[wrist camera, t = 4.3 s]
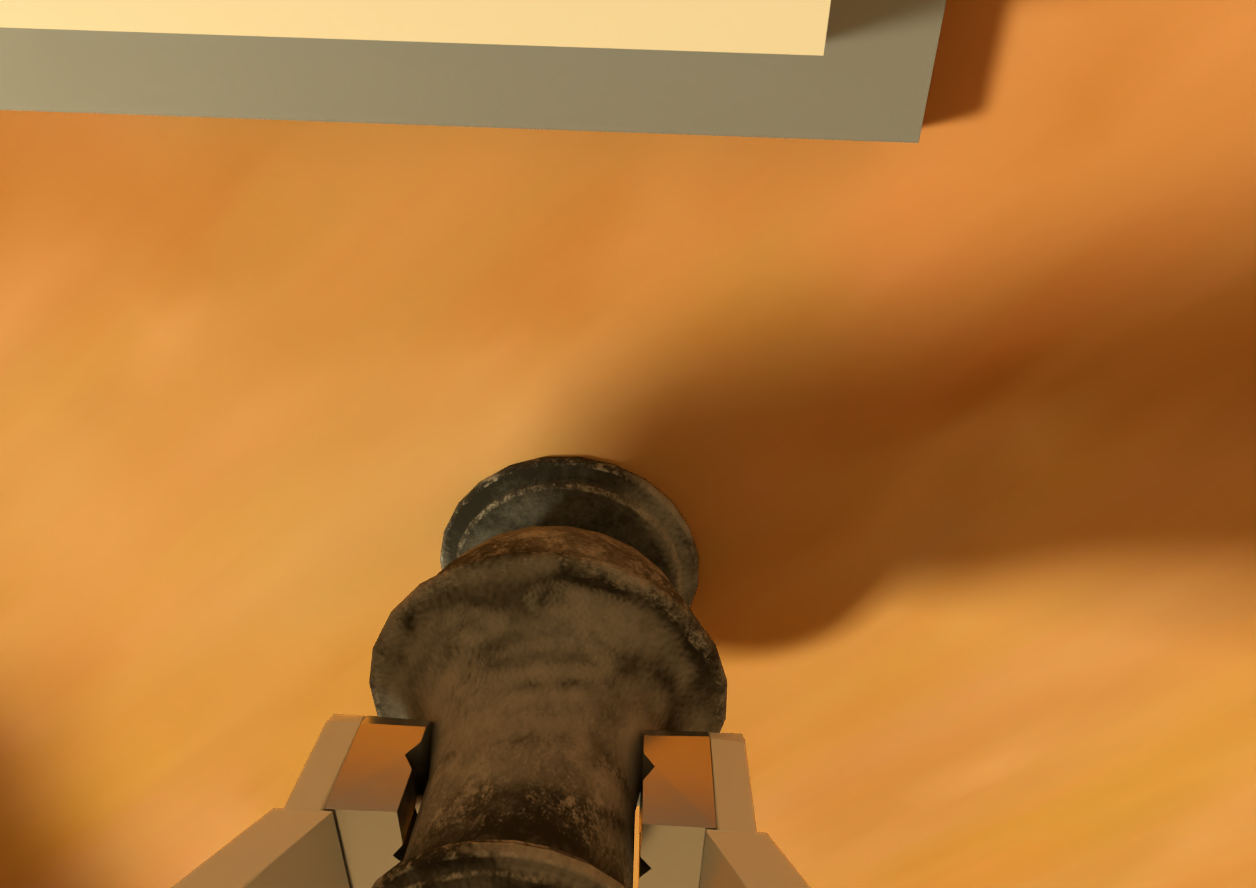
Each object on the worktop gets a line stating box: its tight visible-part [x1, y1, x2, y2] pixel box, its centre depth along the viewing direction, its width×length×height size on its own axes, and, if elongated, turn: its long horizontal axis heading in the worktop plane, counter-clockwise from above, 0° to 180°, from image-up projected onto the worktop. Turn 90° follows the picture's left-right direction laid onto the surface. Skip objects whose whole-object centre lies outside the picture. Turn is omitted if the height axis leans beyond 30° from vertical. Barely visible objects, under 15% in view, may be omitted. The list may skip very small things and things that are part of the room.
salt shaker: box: [369, 457, 727, 888], centre depth 10 cm, size 6×6×12 cm
